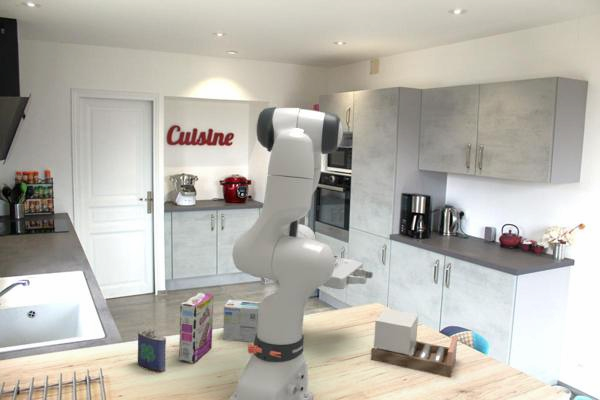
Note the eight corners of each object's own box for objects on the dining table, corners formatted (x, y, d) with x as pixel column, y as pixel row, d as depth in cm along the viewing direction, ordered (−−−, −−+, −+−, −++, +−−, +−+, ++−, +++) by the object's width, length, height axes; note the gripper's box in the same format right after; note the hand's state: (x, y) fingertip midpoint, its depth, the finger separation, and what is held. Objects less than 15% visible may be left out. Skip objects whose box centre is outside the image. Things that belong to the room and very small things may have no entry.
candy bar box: (194, 364, 135) (195, 306, 133) (178, 361, 137) (179, 303, 135) (213, 348, 146) (214, 294, 144) (197, 345, 147) (198, 291, 145)
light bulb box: (261, 334, 158) (262, 301, 156) (257, 342, 151) (258, 308, 150) (227, 331, 159) (228, 298, 157) (222, 340, 152) (223, 305, 151)
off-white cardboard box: (373, 347, 143) (375, 320, 142) (383, 333, 153) (385, 308, 152) (408, 354, 139) (410, 327, 138) (416, 340, 149) (418, 314, 148)
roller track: (370, 359, 143) (372, 336, 142) (381, 344, 154) (382, 322, 153) (450, 377, 134) (452, 352, 133) (455, 359, 145) (457, 336, 144)
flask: (167, 369, 132) (167, 331, 130) (159, 374, 129) (159, 334, 128) (142, 361, 136) (142, 323, 135) (134, 365, 134) (133, 326, 132)
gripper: (312, 268, 142) (359, 276, 137) (336, 254, 161) (378, 260, 156) (311, 290, 143) (358, 298, 138) (335, 273, 162) (377, 279, 156)
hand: (369, 277), depth 147 cm, fingers open, 5 cm apart
